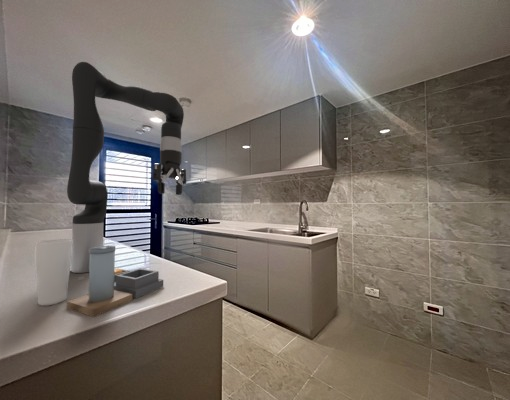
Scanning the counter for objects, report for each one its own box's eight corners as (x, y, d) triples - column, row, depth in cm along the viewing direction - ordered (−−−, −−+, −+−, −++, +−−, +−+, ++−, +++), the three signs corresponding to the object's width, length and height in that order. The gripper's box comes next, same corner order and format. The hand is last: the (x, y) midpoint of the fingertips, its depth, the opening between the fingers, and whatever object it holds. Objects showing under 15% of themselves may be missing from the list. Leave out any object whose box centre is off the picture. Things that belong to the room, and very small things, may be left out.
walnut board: (66, 307, 50) (67, 301, 50) (106, 293, 59) (106, 288, 59) (93, 316, 46) (93, 309, 47) (132, 300, 55) (132, 294, 55)
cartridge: (83, 299, 51) (84, 248, 52) (105, 291, 56) (106, 245, 56) (97, 303, 49) (98, 250, 50) (119, 295, 54) (120, 246, 54)
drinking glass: (36, 311, 49) (38, 244, 49) (30, 302, 53) (32, 241, 53) (74, 300, 54) (75, 240, 55) (66, 294, 58) (68, 237, 59)
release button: (103, 278, 65) (103, 271, 65) (116, 274, 68) (116, 268, 68) (112, 280, 63) (112, 273, 63) (125, 276, 67) (125, 269, 67)
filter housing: (89, 287, 63) (90, 271, 63) (119, 278, 71) (120, 264, 72) (135, 298, 56) (136, 280, 56) (163, 286, 64) (163, 271, 64)
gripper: (177, 156, 90) (176, 195, 89) (147, 147, 77) (147, 193, 76) (191, 154, 87) (191, 195, 86) (163, 145, 74) (163, 193, 73)
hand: (170, 194), depth 81 cm, fingers open, 8 cm apart
